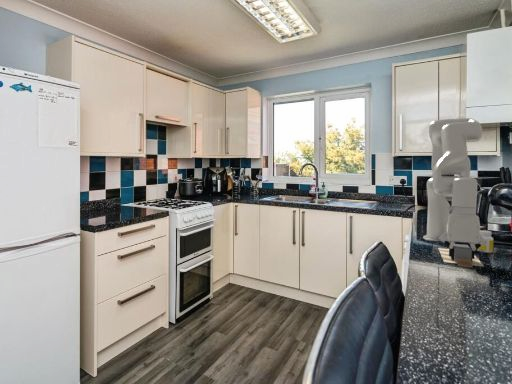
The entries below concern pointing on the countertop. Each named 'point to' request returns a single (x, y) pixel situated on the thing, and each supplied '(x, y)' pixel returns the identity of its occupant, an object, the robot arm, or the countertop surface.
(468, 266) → the walnut offcut
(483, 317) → the countertop surface
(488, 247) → the supplement bottle
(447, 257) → the birch board
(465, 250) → the block
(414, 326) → the countertop surface
